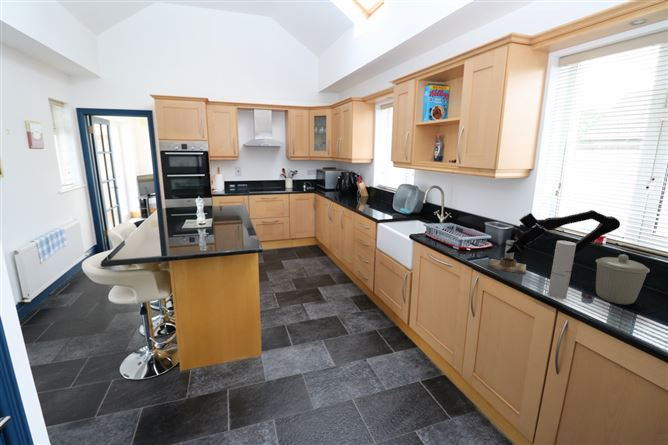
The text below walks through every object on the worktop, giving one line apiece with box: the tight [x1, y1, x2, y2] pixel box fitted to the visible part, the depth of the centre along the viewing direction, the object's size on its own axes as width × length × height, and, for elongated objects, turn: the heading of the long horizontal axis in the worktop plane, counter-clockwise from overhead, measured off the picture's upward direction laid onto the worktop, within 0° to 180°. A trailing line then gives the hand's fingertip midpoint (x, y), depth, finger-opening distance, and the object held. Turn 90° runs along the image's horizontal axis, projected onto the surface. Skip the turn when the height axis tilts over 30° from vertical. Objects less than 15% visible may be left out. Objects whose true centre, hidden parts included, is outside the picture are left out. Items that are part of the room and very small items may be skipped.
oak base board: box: [488, 258, 527, 275], centre depth 187 cm, size 18×14×2 cm
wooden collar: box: [499, 257, 517, 267], centre depth 186 cm, size 8×8×3 cm
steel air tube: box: [503, 239, 515, 262], centre depth 185 cm, size 5×5×14 cm
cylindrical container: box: [547, 240, 576, 300], centre depth 148 cm, size 7×7×25 cm
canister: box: [595, 254, 650, 305], centre depth 145 cm, size 18×18×21 cm
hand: (506, 250), depth 185 cm, fingers open, 9 cm apart
